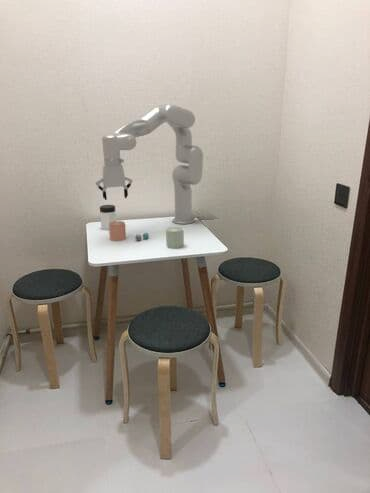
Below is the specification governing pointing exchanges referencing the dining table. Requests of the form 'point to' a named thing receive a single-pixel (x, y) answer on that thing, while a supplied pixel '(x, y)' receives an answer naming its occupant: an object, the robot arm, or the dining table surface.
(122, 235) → the peach octagonal canister
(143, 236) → the marble
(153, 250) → the dining table surface
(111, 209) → the jar
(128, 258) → the dining table surface
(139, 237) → the marble
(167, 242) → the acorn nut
